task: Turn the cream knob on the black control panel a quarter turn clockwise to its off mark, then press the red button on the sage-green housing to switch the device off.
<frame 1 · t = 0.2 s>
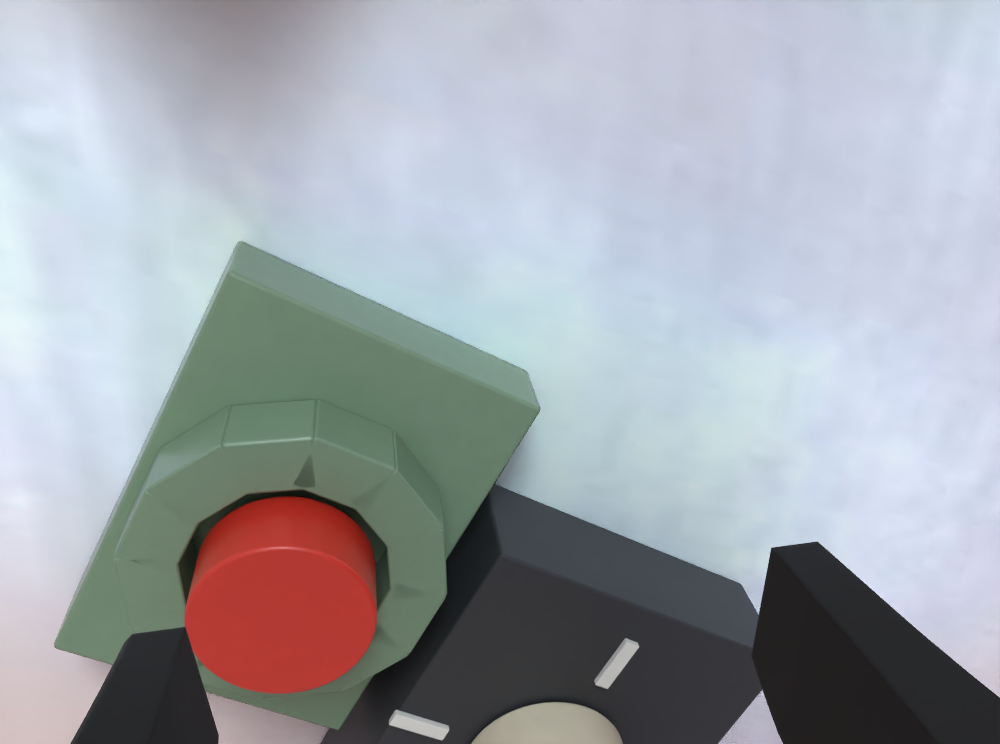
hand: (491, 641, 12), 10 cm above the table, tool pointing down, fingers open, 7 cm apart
off button: (284, 594, 19), point 4 cm above the table, slide at 0.1 cm
control panel: (523, 671, 26), on the table
button housing: (296, 484, 22), on the table
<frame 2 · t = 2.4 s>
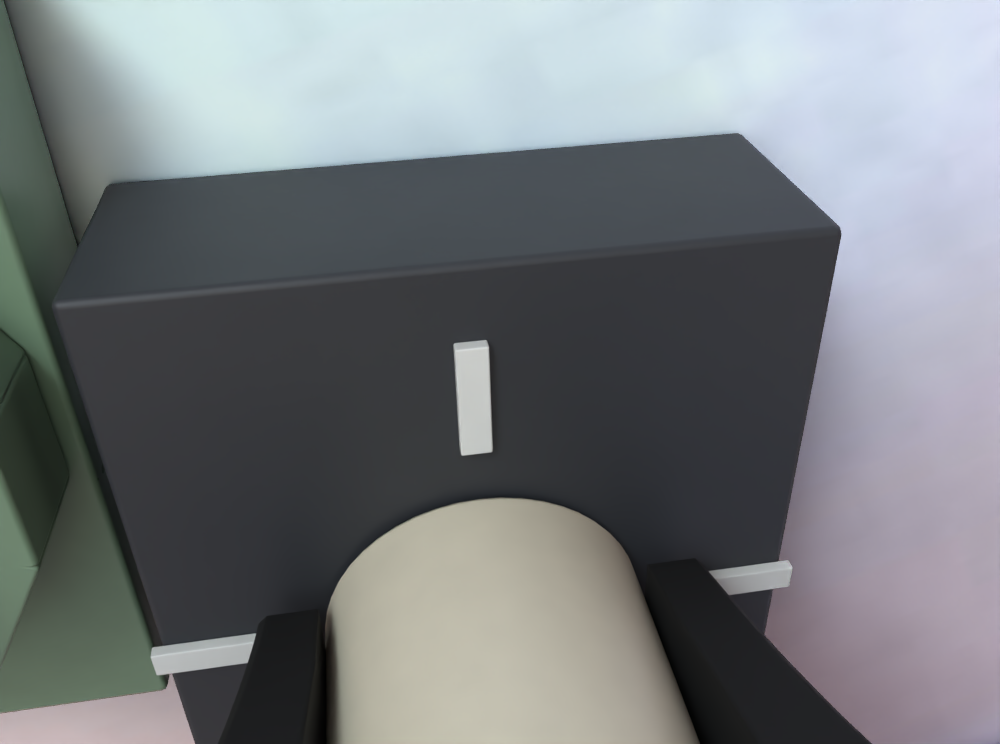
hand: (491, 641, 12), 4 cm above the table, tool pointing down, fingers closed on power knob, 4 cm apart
control panel: (455, 464, 15), on the table
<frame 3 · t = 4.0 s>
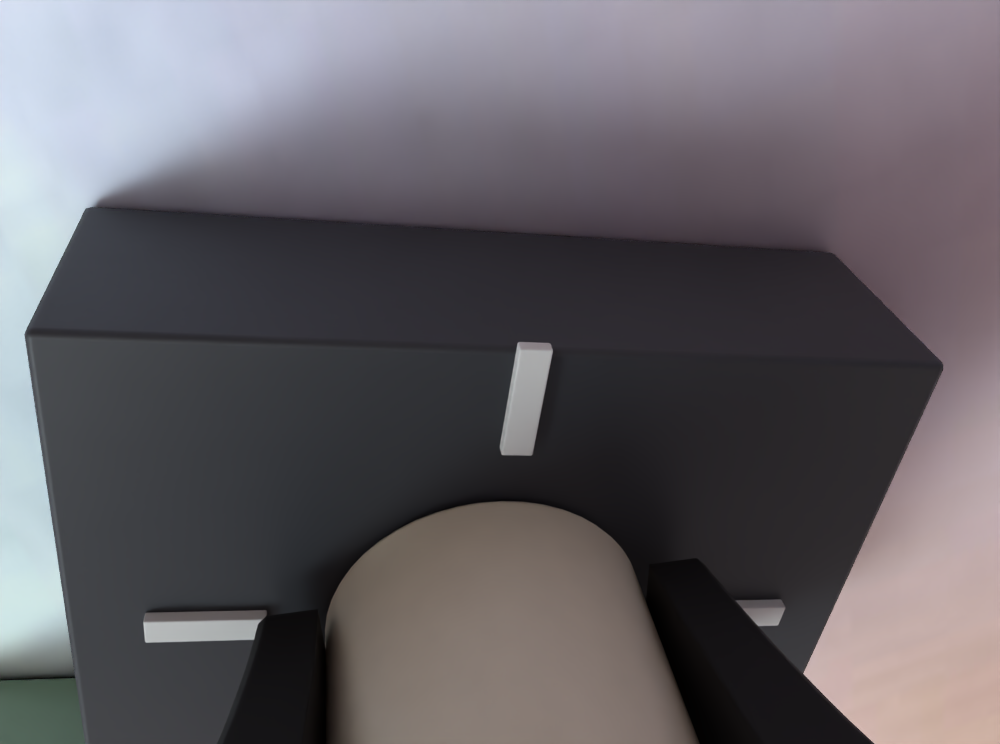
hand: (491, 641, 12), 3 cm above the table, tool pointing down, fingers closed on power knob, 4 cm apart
control panel: (455, 467, 15), on the table
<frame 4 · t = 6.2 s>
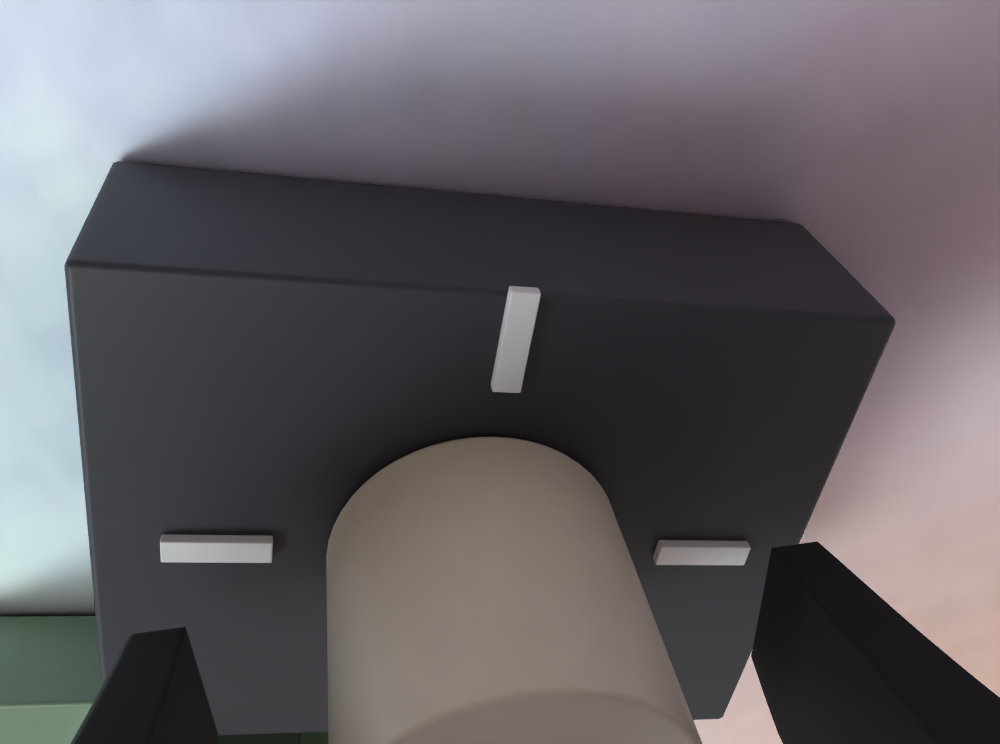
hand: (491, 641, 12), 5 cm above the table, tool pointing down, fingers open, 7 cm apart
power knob: (497, 675, 11), point 5 cm above the table, hinge at 9.2°
control panel: (448, 419, 16), on the table
button housing: (249, 734, 19), on the table
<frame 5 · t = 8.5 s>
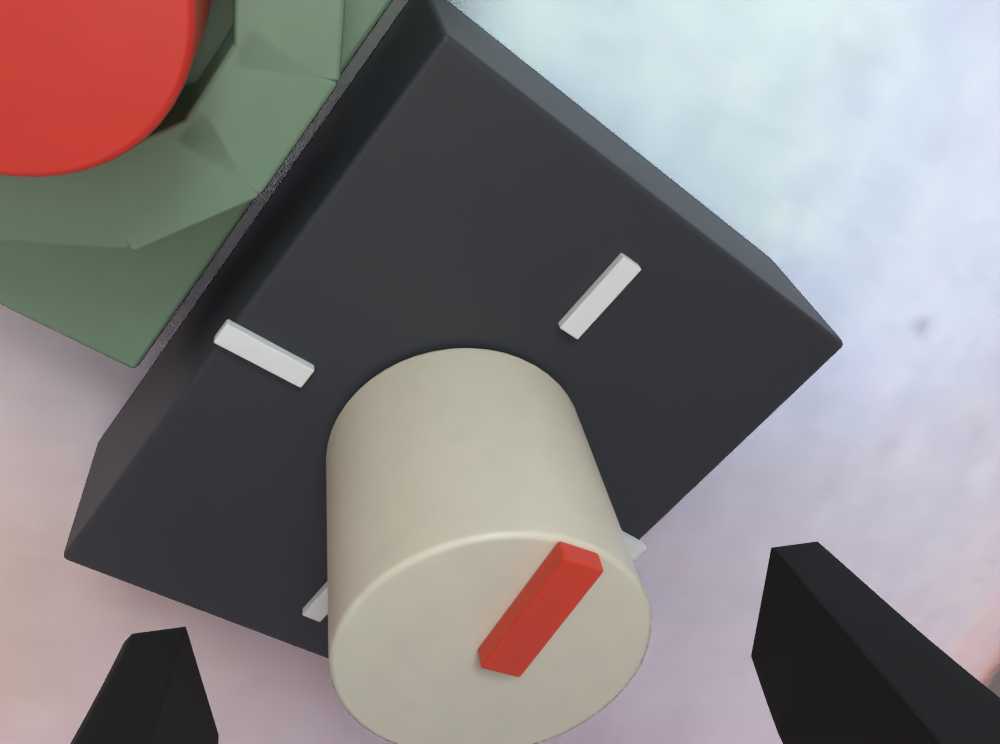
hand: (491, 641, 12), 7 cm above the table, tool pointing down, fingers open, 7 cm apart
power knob: (474, 550, 13), point 5 cm above the table, hinge at 9.2°
control panel: (435, 350, 17), on the table
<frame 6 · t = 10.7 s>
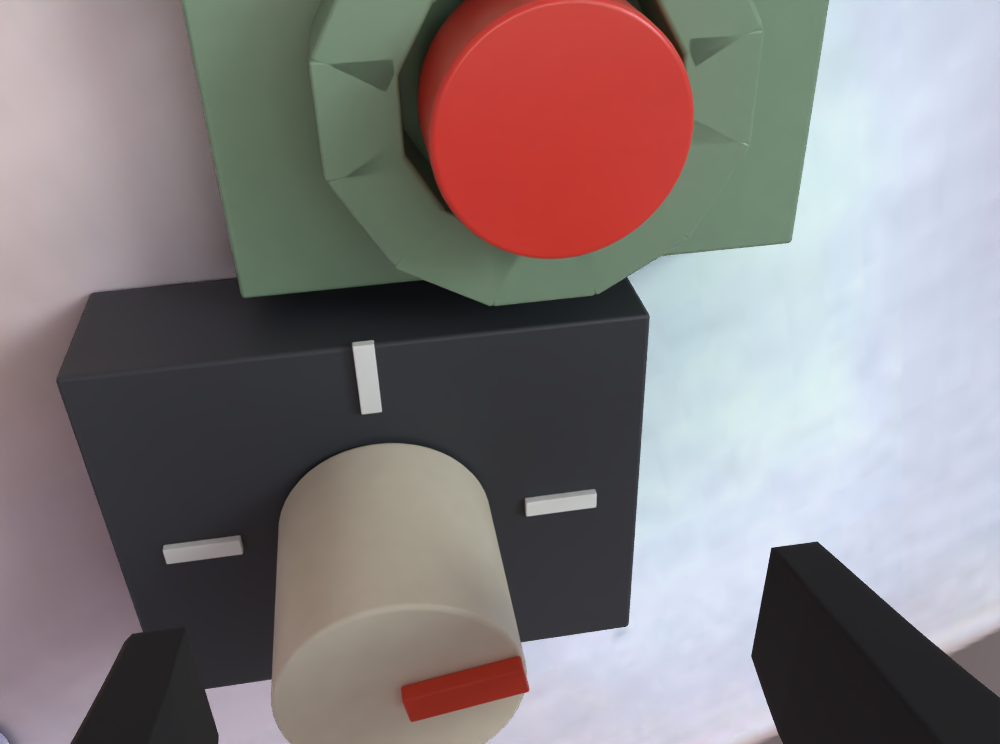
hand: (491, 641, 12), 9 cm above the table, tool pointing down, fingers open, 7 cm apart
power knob: (393, 608, 16), point 5 cm above the table, hinge at 9.2°
off button: (551, 117, 13), point 4 cm above the table, slide at 0.1 cm
control panel: (377, 429, 21), on the table
button housing: (503, 43, 17), on the table
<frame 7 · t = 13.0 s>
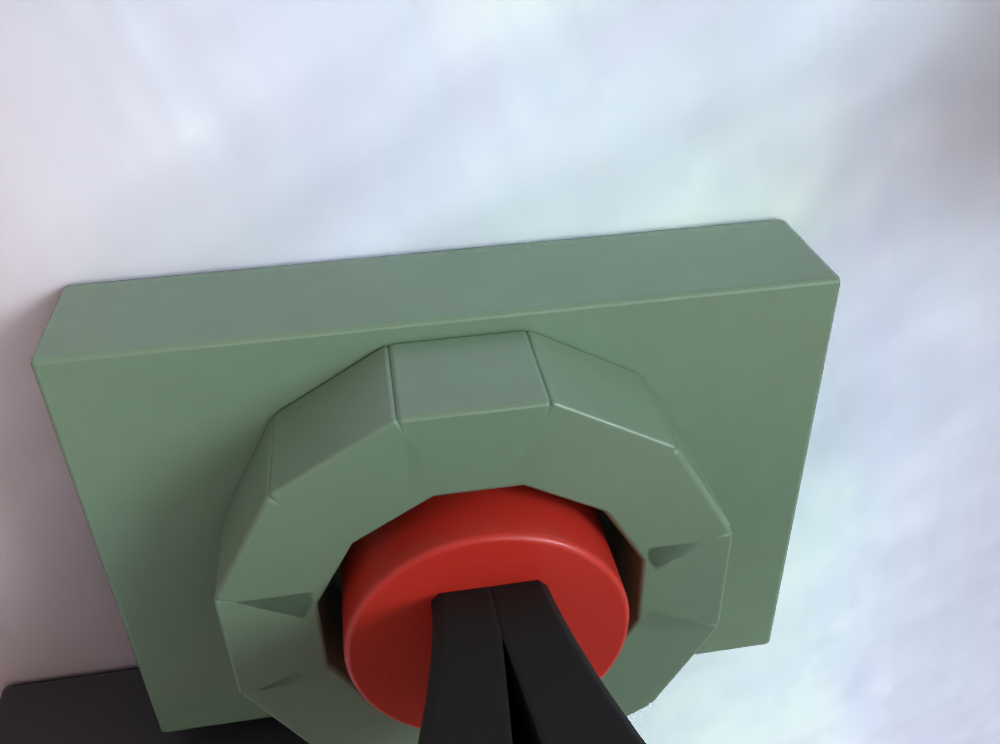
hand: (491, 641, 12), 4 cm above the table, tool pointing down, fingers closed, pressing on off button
off button: (480, 592, 13), point 3 cm above the table, slide at -0.8 cm, touching gripper
button housing: (452, 447, 15), on the table
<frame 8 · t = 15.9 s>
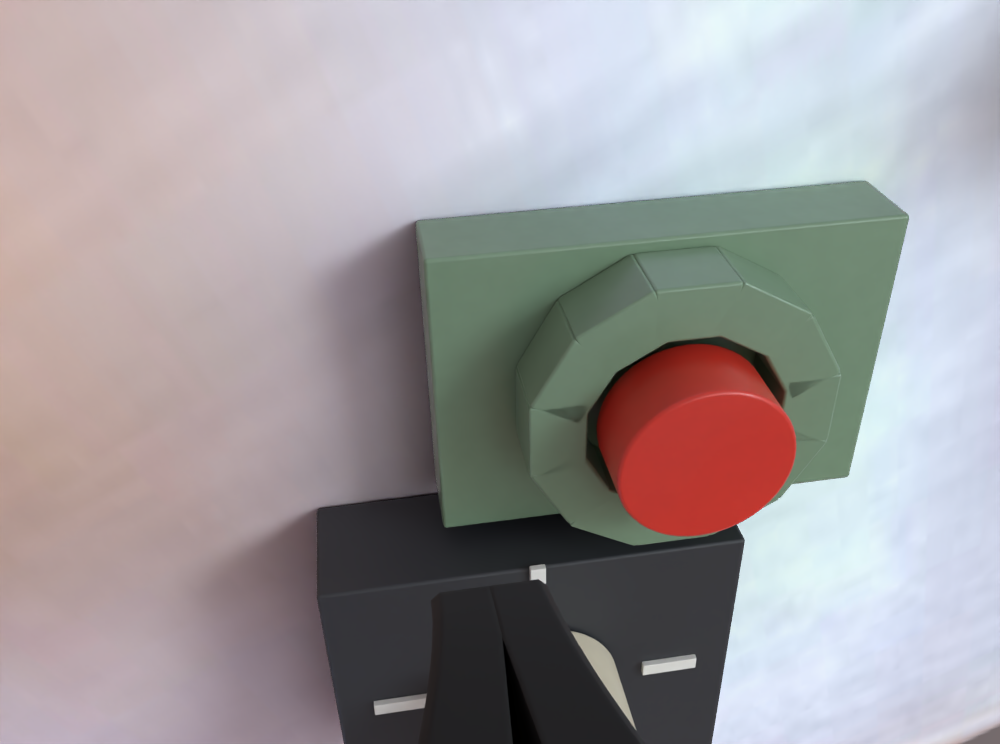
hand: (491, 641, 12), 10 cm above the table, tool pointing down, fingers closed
off button: (693, 441, 19), point 4 cm above the table, slide at 0.1 cm
control panel: (516, 593, 26), on the table
button housing: (638, 337, 22), on the table
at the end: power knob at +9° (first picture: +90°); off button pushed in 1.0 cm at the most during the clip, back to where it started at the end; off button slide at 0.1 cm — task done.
